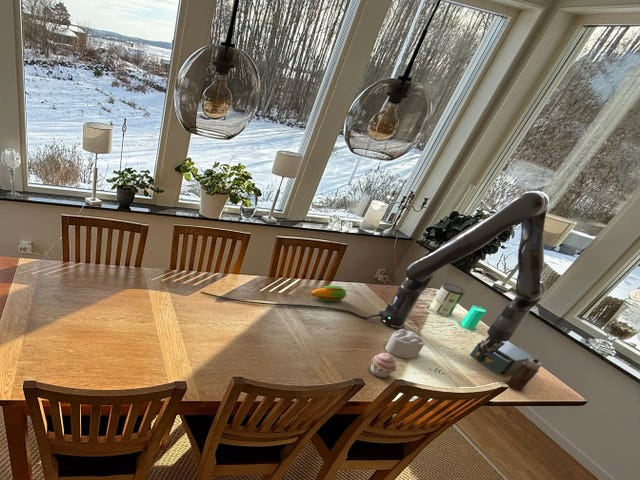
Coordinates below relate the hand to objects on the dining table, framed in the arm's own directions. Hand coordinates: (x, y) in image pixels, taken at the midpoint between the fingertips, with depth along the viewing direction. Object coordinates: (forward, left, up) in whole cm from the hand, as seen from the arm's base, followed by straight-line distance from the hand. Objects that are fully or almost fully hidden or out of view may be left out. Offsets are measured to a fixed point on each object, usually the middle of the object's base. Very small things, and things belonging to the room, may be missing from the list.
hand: (479, 360), depth 168 cm
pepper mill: (+9, -11, -4) cm, 15 cm away
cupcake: (-49, -4, -4) cm, 49 cm away
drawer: (+9, +2, -3) cm, 10 cm away
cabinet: (+14, +3, -4) cm, 15 cm away
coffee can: (+20, +47, -4) cm, 51 cm away
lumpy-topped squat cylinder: (-29, +11, -4) cm, 31 cm away
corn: (-43, +53, -4) cm, 68 cm away
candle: (+25, +33, -4) cm, 42 cm away
